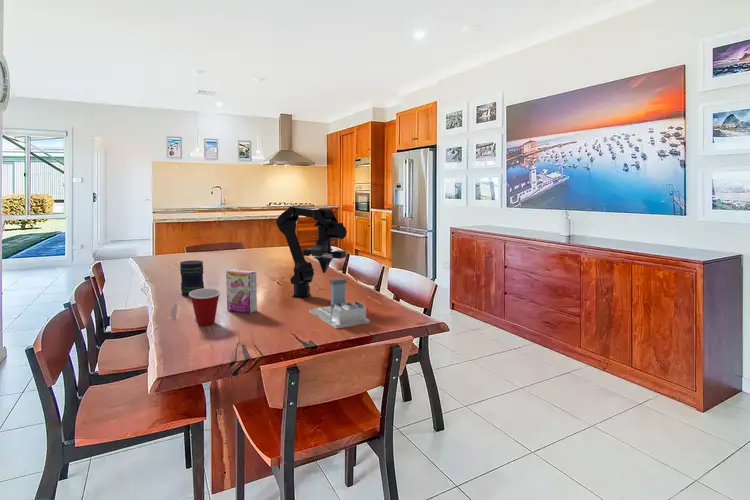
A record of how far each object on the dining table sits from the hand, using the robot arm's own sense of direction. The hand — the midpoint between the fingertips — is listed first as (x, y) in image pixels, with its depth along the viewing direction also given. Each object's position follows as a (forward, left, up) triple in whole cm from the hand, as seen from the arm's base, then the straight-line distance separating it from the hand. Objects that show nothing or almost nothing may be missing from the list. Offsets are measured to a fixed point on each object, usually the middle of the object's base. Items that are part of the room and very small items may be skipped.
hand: (324, 272), depth 191 cm
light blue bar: (+18, -20, -11) cm, 29 cm away
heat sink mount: (+16, -18, -13) cm, 28 cm away
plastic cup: (-24, -46, -13) cm, 53 cm away
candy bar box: (-23, -27, -13) cm, 38 cm away
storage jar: (-61, -14, -13) cm, 64 cm away
